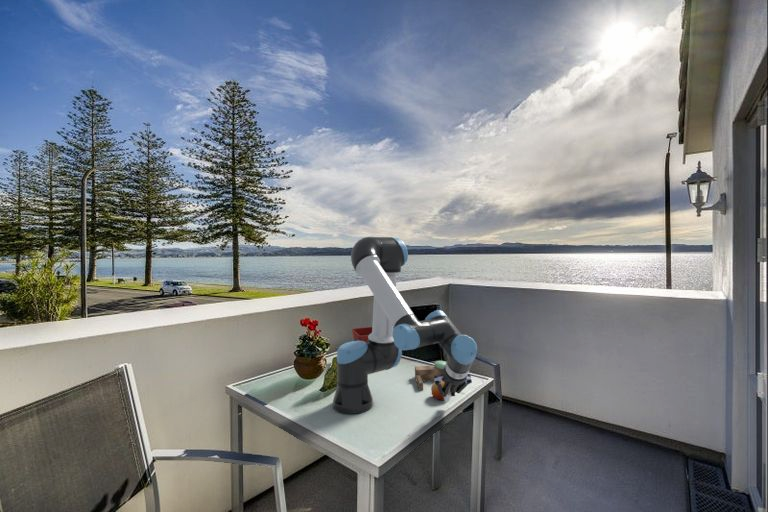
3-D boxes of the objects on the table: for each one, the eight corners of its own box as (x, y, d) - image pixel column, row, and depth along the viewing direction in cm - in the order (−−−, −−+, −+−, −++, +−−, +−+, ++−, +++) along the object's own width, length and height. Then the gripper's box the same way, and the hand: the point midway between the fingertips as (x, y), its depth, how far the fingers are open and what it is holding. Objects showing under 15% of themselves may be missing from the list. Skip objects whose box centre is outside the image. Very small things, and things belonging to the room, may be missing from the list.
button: (436, 380, 150) (436, 365, 150) (433, 375, 156) (433, 361, 156) (449, 379, 150) (449, 364, 150) (446, 375, 156) (446, 360, 156)
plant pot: (352, 358, 185) (351, 328, 185) (384, 354, 191) (384, 325, 191) (360, 369, 167) (359, 335, 167) (395, 364, 173) (395, 332, 173)
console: (416, 380, 150) (416, 369, 150) (414, 376, 155) (414, 366, 155) (449, 379, 151) (448, 368, 151) (446, 375, 156) (446, 365, 156)
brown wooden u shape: (419, 390, 139) (419, 383, 139) (416, 380, 150) (416, 374, 150) (454, 389, 140) (454, 382, 140) (449, 379, 151) (448, 373, 151)
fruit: (454, 400, 126) (443, 381, 128) (437, 408, 128) (426, 389, 130) (457, 391, 134) (446, 373, 135) (440, 399, 136) (430, 382, 137)
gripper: (438, 381, 104) (430, 409, 121) (479, 379, 105) (465, 408, 121) (435, 359, 110) (427, 389, 126) (473, 357, 110) (461, 387, 127)
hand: (445, 398), depth 124 cm, fingers closed
